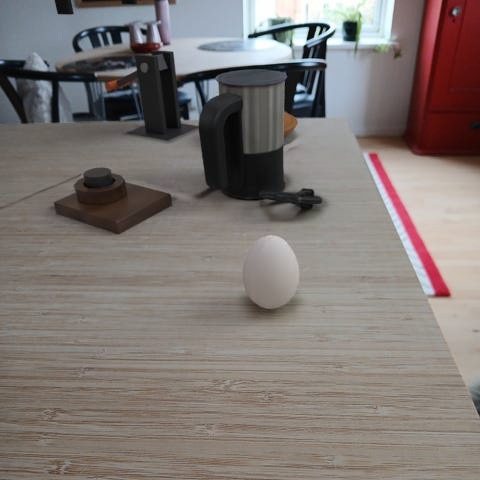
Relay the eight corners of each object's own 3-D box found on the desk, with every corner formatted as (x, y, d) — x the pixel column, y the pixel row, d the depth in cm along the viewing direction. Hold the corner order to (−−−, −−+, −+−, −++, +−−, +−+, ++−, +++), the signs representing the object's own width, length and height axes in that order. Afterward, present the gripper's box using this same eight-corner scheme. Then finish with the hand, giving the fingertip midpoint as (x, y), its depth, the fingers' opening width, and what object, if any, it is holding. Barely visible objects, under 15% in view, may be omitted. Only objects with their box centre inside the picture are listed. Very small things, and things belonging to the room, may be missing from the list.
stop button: (80, 186, 68) (77, 174, 67) (100, 178, 70) (98, 165, 69) (99, 192, 66) (96, 179, 65) (119, 182, 69) (116, 170, 68)
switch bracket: (128, 138, 95) (114, 55, 86) (160, 125, 100) (150, 47, 92) (168, 147, 90) (158, 59, 82) (200, 133, 96) (193, 50, 87)
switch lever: (108, 94, 95) (102, 81, 94) (127, 88, 98) (122, 75, 97) (153, 72, 86) (147, 57, 85) (173, 66, 89) (167, 52, 88)
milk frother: (235, 173, 78) (230, 66, 70) (338, 183, 74) (346, 70, 65) (196, 211, 68) (184, 91, 59) (313, 226, 63) (319, 98, 54)
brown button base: (56, 213, 69) (49, 189, 67) (110, 188, 75) (106, 165, 73) (119, 234, 63) (113, 208, 61) (172, 205, 70) (169, 180, 68)
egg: (309, 307, 49) (313, 238, 45) (266, 328, 47) (265, 258, 42) (275, 284, 53) (275, 218, 48) (233, 302, 50) (229, 235, 46)
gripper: (2, -198, 58) (52, 19, 70) (150, -172, 74) (169, 0, 87) (-36, -187, 61) (17, 18, 74) (113, -165, 77) (136, 0, 90)
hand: (99, 9), depth 80 cm, fingers open, 13 cm apart
